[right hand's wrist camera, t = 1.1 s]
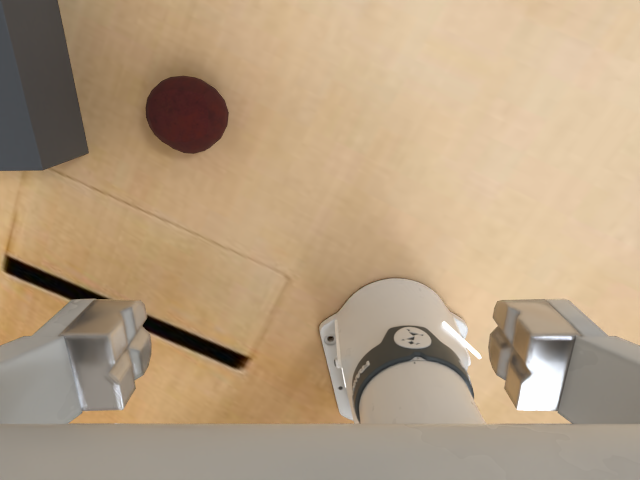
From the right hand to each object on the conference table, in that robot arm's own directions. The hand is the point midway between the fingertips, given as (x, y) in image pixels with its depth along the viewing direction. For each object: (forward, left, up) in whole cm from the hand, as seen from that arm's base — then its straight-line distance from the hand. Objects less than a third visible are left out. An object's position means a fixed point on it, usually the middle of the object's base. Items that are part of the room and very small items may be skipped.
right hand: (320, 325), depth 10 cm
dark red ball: (+1, +13, -40) cm, 42 cm away
